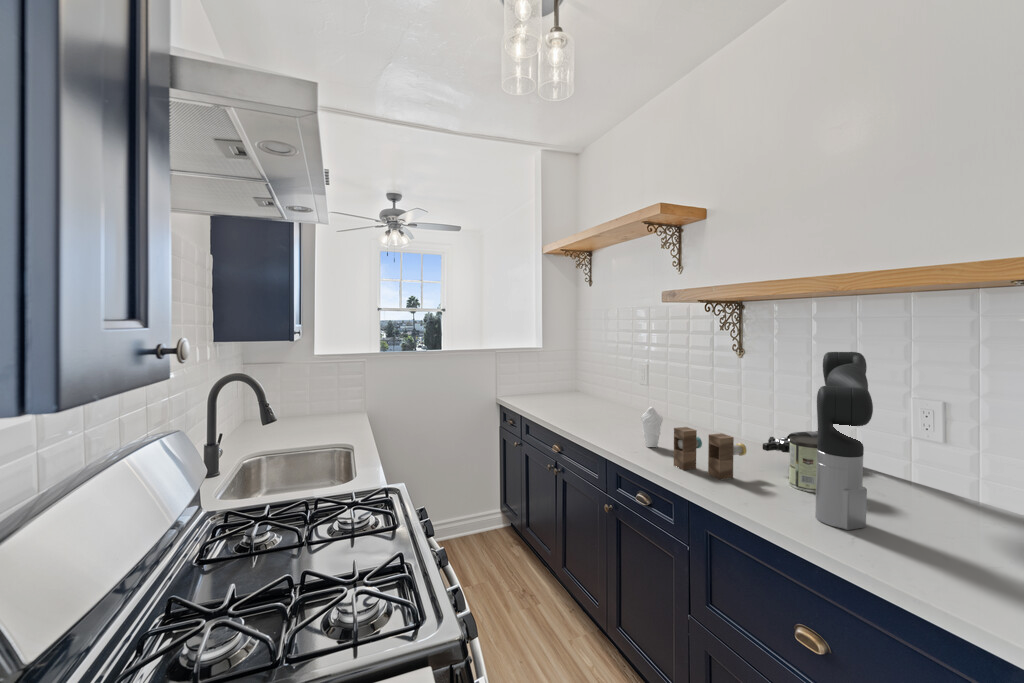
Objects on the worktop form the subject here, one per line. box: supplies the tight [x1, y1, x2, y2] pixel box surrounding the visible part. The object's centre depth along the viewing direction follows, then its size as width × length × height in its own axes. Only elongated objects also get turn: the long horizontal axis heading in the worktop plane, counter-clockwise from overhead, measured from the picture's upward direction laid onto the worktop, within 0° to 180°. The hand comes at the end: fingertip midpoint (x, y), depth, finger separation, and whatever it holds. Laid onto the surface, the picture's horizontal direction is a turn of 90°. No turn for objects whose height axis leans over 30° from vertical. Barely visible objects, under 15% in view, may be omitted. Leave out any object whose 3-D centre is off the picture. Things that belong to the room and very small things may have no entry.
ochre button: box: [733, 442, 747, 456], centre depth 144 cm, size 4×7×4 cm, turn 106°
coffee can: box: [788, 436, 818, 494], centre depth 134 cm, size 10×10×14 cm
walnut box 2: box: [707, 432, 735, 481], centre depth 143 cm, size 5×5×13 cm
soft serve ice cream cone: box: [640, 406, 664, 448], centre depth 177 cm, size 8×8×16 cm
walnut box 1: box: [673, 426, 698, 471], centre depth 152 cm, size 5×5×13 cm
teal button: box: [678, 436, 703, 449], centre depth 153 cm, size 4×7×4 cm, turn 106°
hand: (764, 447), depth 148 cm, fingers closed
